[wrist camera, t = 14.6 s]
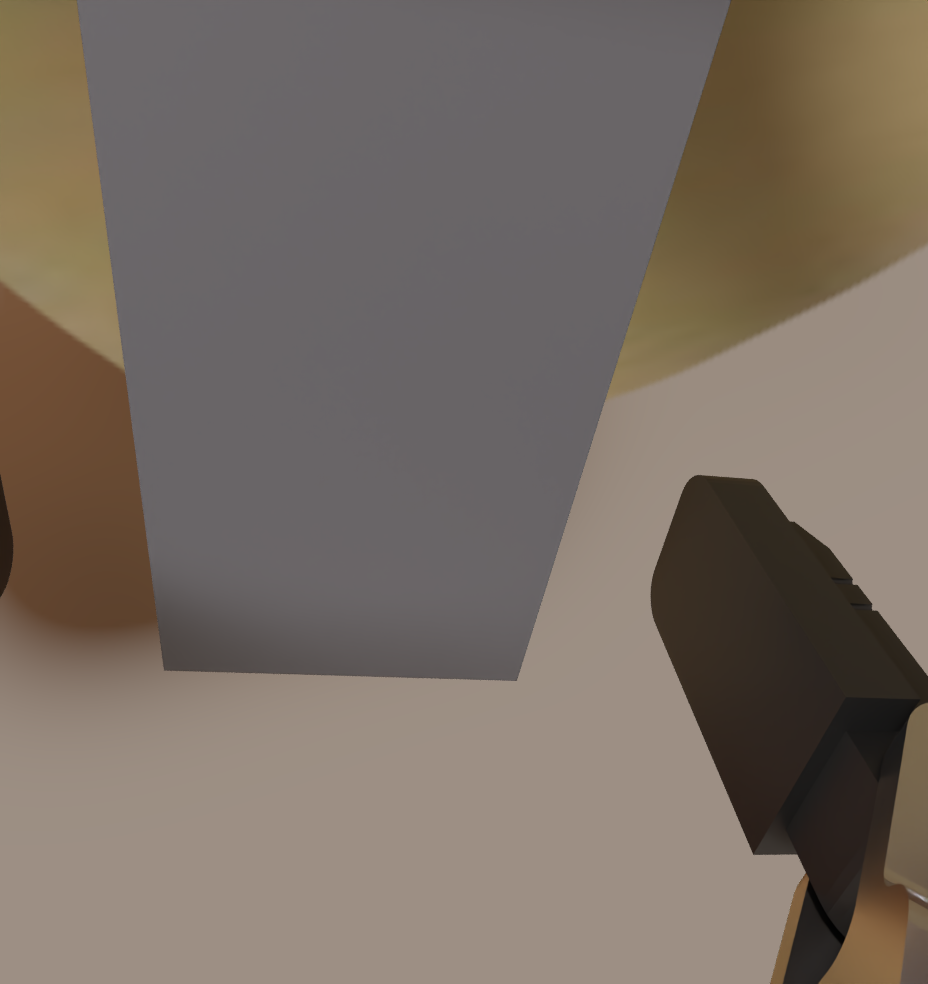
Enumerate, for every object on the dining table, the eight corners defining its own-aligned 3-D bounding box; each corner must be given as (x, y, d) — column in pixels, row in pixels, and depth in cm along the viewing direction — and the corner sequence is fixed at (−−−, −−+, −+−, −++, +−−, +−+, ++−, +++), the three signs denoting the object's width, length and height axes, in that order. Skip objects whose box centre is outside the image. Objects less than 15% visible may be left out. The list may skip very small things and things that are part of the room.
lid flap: (-2659, -1531, 2) (-452, 732, 7) (1858, -205, 4) (947, 754, 10) (60, -317, 17) (111, 117, 23) (692, -181, 19) (598, 183, 25)
